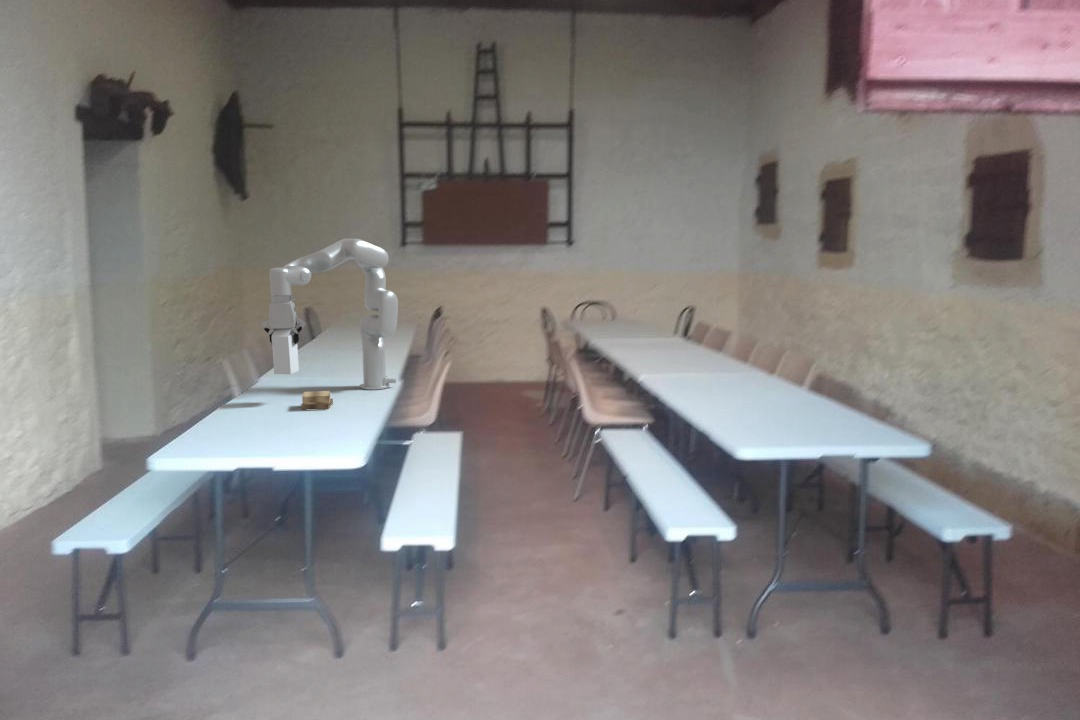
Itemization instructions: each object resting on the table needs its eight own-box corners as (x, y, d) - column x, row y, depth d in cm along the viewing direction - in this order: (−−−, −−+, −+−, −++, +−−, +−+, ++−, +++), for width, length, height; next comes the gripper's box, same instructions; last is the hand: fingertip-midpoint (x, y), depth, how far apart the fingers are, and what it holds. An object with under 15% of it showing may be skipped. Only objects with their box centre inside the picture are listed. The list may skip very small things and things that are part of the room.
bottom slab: (333, 405, 347) (332, 398, 347) (328, 411, 338) (328, 403, 337) (307, 406, 347) (307, 398, 346) (301, 411, 337) (301, 404, 337)
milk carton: (290, 374, 345) (287, 326, 341) (274, 374, 346) (270, 326, 343) (299, 371, 352) (296, 323, 348) (282, 370, 353) (279, 323, 350)
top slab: (330, 398, 347) (330, 390, 347) (329, 403, 338) (329, 395, 337) (304, 399, 345) (303, 391, 345) (302, 404, 336) (302, 396, 335)
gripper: (306, 298, 348) (309, 341, 351) (261, 299, 347) (264, 343, 350) (302, 300, 341) (305, 344, 344) (256, 301, 340) (259, 346, 343)
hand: (284, 343), depth 347 cm, fingers closed on milk carton, 8 cm apart
